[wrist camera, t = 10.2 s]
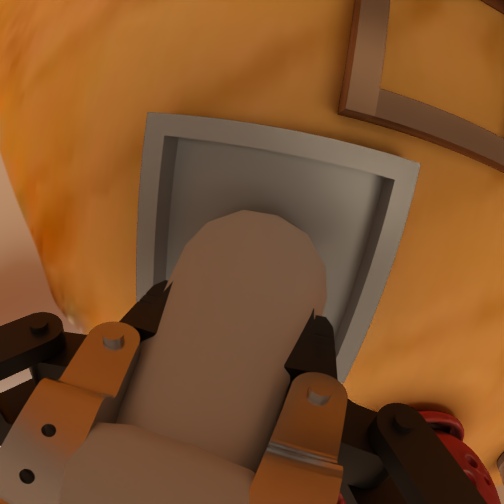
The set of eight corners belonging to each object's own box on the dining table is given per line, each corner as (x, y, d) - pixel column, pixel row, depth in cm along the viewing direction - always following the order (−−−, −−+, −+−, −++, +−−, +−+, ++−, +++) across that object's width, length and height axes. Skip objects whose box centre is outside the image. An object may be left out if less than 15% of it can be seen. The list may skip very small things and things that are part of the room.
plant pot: (329, 484, 24) (322, 584, 13) (324, 408, 20) (317, 562, 9) (449, 462, 21) (468, 555, 10) (485, 376, 17) (539, 499, 6)
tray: (169, 114, 15) (147, 112, 12) (403, 159, 14) (420, 163, 11) (155, 312, 19) (137, 334, 17) (340, 355, 18) (343, 383, 16)
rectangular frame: (360, -60, 9) (367, -88, 6) (527, 16, 8) (552, 6, 5) (337, 114, 13) (345, 108, 11) (517, 179, 12) (548, 189, 10)
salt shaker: (219, 179, 13) (-94, 394, 1) (344, 227, 13) (432, 593, 1) (186, 291, 15) (27, 524, 3) (293, 332, 15) (251, 610, 3)
